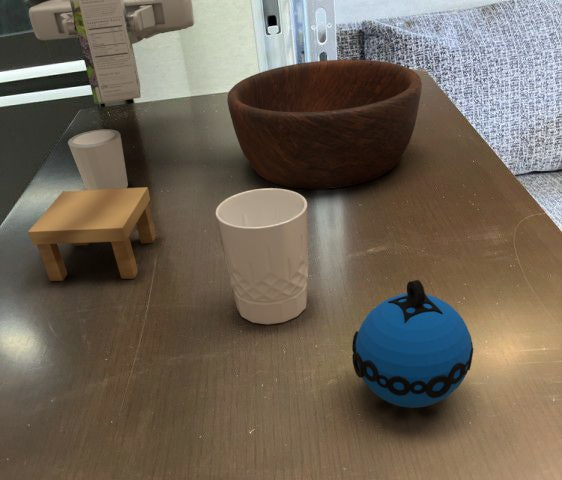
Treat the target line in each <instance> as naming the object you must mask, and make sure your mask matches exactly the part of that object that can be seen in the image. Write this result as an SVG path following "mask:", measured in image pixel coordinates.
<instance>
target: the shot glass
mask: <svg viewBox="0 0 562 480" xmlns="http://www.w3.org/2000/svg"><path fill="white" fill-rule="evenodd" d="M67 145H68V147H69V149H70V152H71V154H72V157H73V160H74V162H75V165H76V167H77V170H78V173H79V174H80V178H81V180H82V183H83V185H84V187H85V190H102V189H122V188H128V186H129V183H128V176H127V169H126V161H125V156H124V149H123V143H122V137H121V133H120V132H119V131H118V130H115V129H106V128H105V129H93V130H88V131H84V132H81V133H79V134H76V135H74V136H73V137H70V138H69V139H68V141H67Z"/></svg>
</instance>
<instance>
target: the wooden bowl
mask: <svg viewBox="0 0 562 480" xmlns="http://www.w3.org/2000/svg"><path fill="white" fill-rule="evenodd" d="M422 87H423V83H422V79H421V77H420V75H419V74H418V72H415V71H414V70H413V69H411V68H409V67H406V66H404V65H400V64H397V63H393V62H388V61H382V60H381V61H380V60H370V59H331V60H330V59H329V60H318V61H317V60H316V61H308V62H300V63H293V64H289V65H284V66H280V67H274V68H271V69H267V70H264V71H261V72H258V73H255V74H253V75H252V74H251V75H249V76H247V77H246V78H244V79H242V80H240V81H239V82H236V84H235V85H233V86H232V87H231V89H230V90H229V91H228V93H227V101H226V102H227V107H228V112H229V115H230V119H231V123H232V126H233V129H234V134H235V135H236V139H237V141H238V144H239V147H240V149H241V151H242V153H243V156H244V157H245V159H246V161H247V162H248V164H249V165H250V166H251V168H252V169H253V170H254V171H255V172H256V173H257V175H259V176H261V178H263V179H264V180H266V181H268V182H270V183H273V184H276V185H279V186H283V187H287V188H295V189H305V190H306V189H307V190H321V189H322V190H325V189H326V190H327V189H335V188H343V187H349V186H354V185H359V184H362V183H367V182H369V181H371V180H374V179H376V178H379V177H381V176H383V175H384V174H386V173H388V172H389V171H390V170H391V169H393V168H394V167H395V166H396V165H397V164H398V163H399V161H400V159H401V158H403V155H404V153H405V151H406V150H407V148H408V146H409V144H410V141H411V139H412V136H413V133H414V130H415V126H416V123H417V117H418V112H419V106H420V101H421V96H422Z"/></svg>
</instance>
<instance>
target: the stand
mask: <svg viewBox="0 0 562 480" xmlns="http://www.w3.org/2000/svg"><path fill="white" fill-rule="evenodd" d="M150 202H151V195H150V192H149V187H147V186H146V187H144V186H143V187H127V188H122V189H102V190H86V189H84V190H82V189H81V190H65V191H64V190H63V191H61V193H60V194H59V195H58V196H57V197H56V198H55V200H54V201H53V202H52V204H51V205H50V206H49V207H48V208H47V209H45V211H44V212H43V214H42V215H41V216H40V217H39V218H38V220H37V221H36V222H35V223H34V224H33V225H32V226H31V228H29V230H28V231H27V233H28V235H29V236H28V237H29V238H30V241H31V243H32V245H36V248H37V250H38V253H39V255H40V258H41V260H42V263H43V266H44V269H45V271H46V274H47V277H48V280H49V281H50V282H63V281H64V280H65V278H66V277H67V275H68V271H67V268H66V265H65V261H64V259H63V257H62V254H61V250H60V248H59V245H58V244H74V246H76V247H77V246H78V247H79V246H80V247H81V246H89V244H90V243H110V244H111V247H112V250H113V254H114V258H115V262H116V265H117V268H118V271H119V276H120V278H121V280H128V279H129V280H133V279H136V278H137V275H138V273H139V269H138V265H137V262H136V258H135V254H134V250H133V247H132V242H131V238H130V235H131V233H132V231H133V230H134V228H135V227H136V229H137V233H138V237H139V241H140V243H141V244H154V242H155V241H156V239H157V234H156V230H155V225H154V221H153V217H152V212H151V208H150V204H149V203H150Z"/></svg>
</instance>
